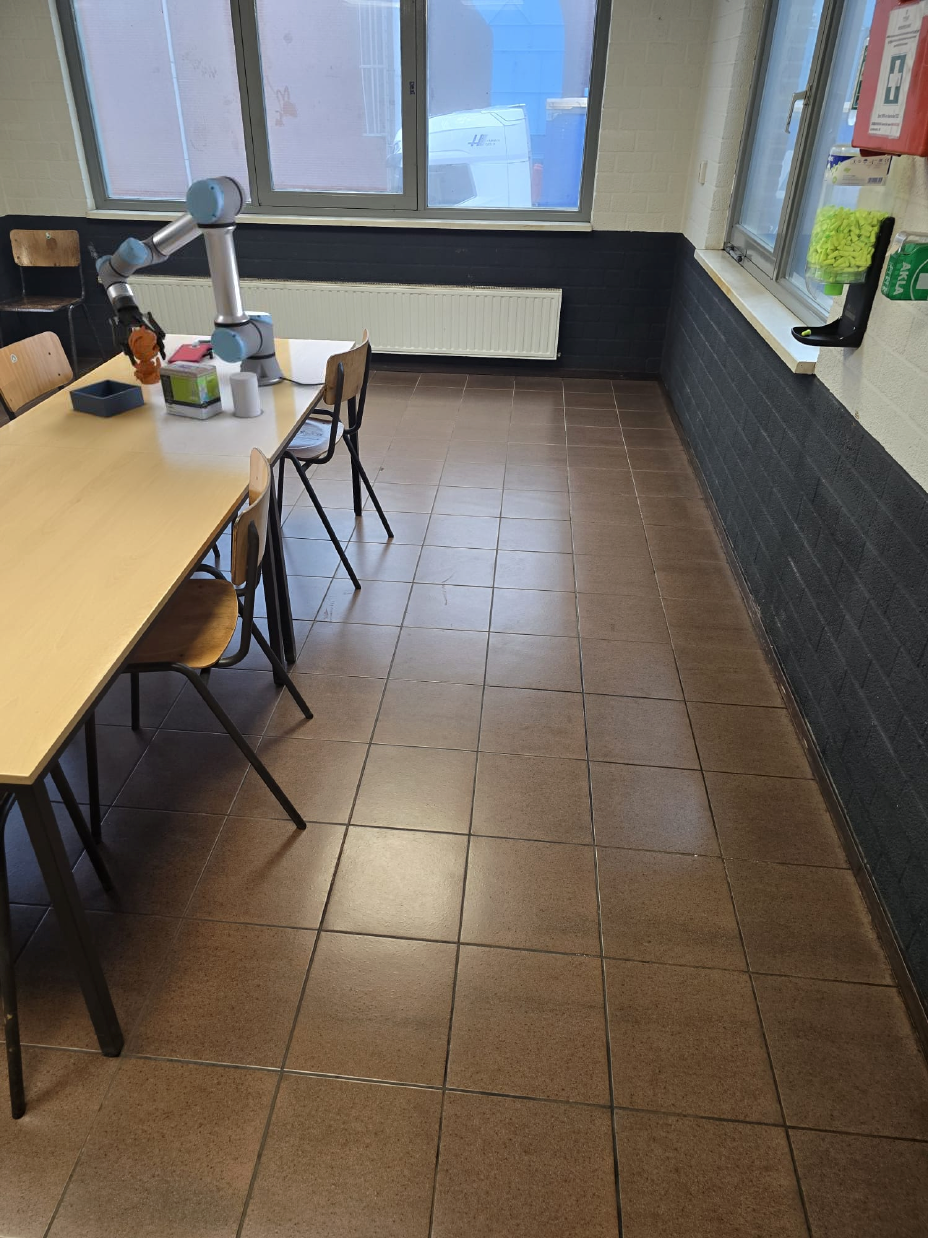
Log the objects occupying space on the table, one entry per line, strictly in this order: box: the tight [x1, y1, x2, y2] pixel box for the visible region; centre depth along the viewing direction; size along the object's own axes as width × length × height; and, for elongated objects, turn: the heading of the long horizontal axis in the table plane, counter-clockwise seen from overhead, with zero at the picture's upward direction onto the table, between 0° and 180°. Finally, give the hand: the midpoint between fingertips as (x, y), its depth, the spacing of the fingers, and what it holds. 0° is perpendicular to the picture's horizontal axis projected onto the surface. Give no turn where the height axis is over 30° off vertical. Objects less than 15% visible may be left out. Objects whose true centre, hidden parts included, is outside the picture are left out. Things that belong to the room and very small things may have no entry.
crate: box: [68, 378, 146, 419], centre depth 269 cm, size 15×15×6 cm
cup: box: [229, 371, 262, 418], centre depth 264 cm, size 8×8×12 cm
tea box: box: [159, 361, 223, 420], centre depth 263 cm, size 15×10×15 cm
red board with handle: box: [167, 339, 215, 364], centre depth 326 cm, size 30×3×15 cm
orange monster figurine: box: [128, 326, 162, 386], centre depth 277 cm, size 11×11×18 cm
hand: (149, 360), depth 276 cm, fingers closed on orange monster figurine, 9 cm apart
